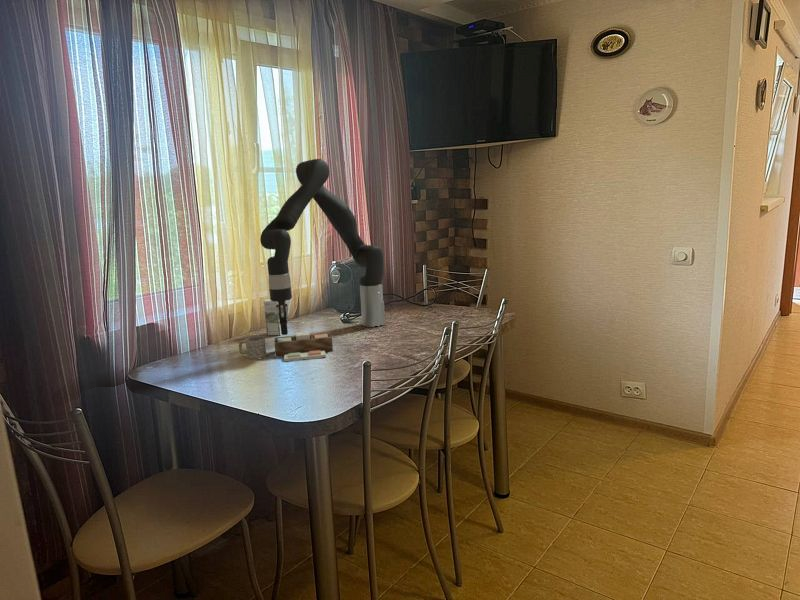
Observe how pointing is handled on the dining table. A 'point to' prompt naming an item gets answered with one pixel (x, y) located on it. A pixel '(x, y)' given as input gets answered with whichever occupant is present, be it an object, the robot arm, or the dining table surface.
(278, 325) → the syrup box
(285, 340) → the sage key
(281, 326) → the robot arm
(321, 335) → the terracotta key
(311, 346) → the brown wooden frame
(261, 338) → the mug
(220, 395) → the dining table surface
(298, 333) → the grey key
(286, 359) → the card
